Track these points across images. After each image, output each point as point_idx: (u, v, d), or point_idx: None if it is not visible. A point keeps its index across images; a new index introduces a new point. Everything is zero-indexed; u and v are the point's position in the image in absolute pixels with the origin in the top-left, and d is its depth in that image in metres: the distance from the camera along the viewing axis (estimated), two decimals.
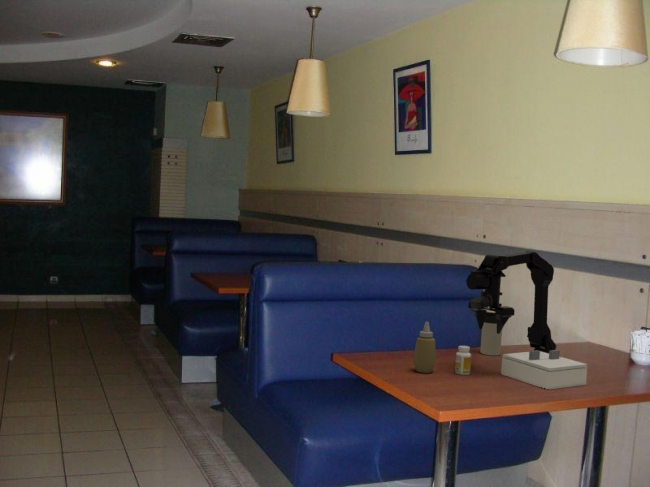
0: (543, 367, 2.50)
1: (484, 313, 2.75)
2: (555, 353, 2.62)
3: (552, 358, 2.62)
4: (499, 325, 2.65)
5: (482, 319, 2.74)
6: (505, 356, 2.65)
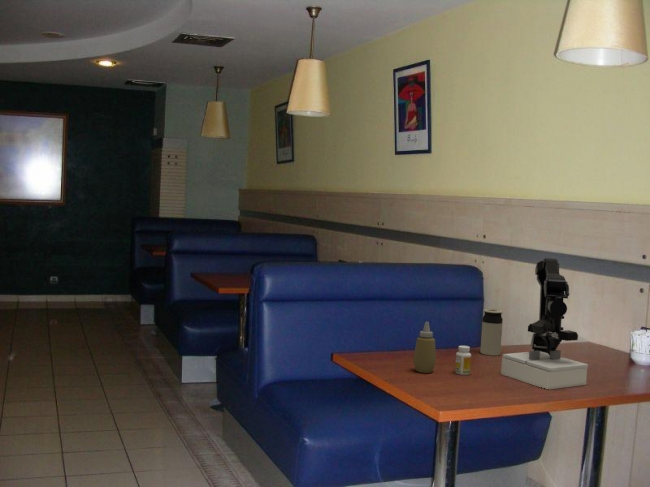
0: (544, 367, 2.50)
1: None
2: (555, 353, 2.62)
3: (553, 358, 2.61)
4: (552, 347, 2.63)
5: None
6: (505, 356, 2.65)
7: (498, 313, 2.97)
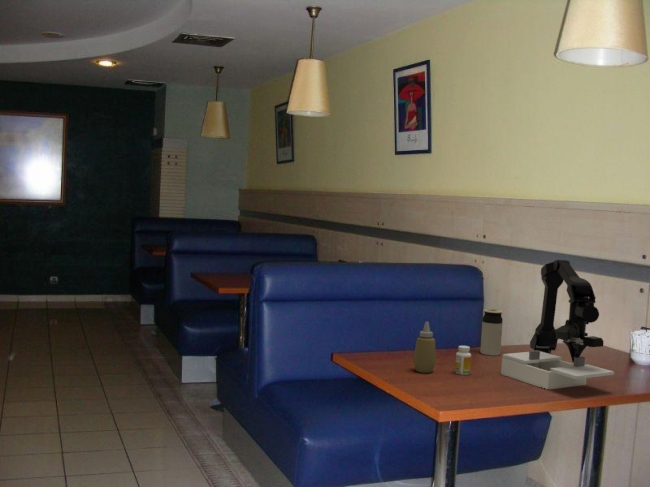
0: (569, 375, 2.40)
1: None
2: (580, 360, 2.53)
3: (577, 365, 2.52)
4: (576, 354, 2.53)
5: None
6: (505, 356, 2.65)
7: (498, 313, 2.97)
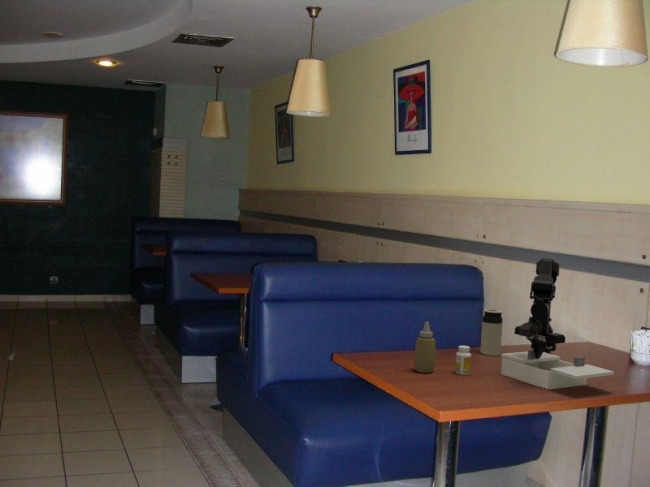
0: (569, 375, 2.40)
1: None
2: (580, 360, 2.53)
3: (577, 365, 2.52)
4: (539, 350, 2.58)
5: None
6: (504, 356, 2.66)
7: (498, 313, 2.97)
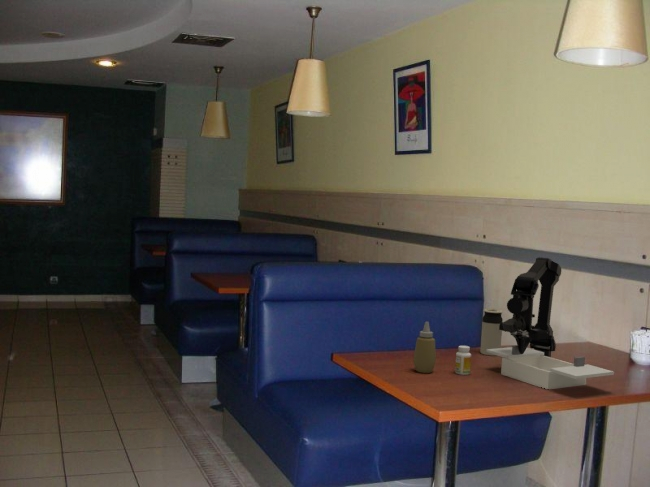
0: (569, 375, 2.40)
1: None
2: (580, 360, 2.53)
3: (577, 365, 2.52)
4: (523, 345, 2.64)
5: None
6: (489, 351, 2.73)
7: (498, 313, 2.97)
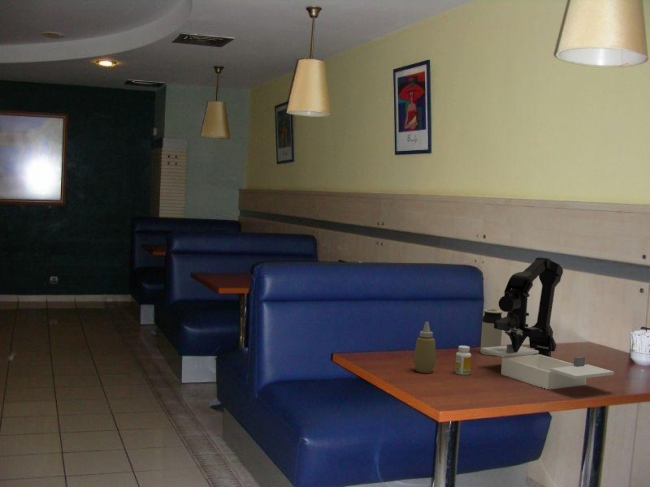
0: (569, 375, 2.40)
1: None
2: (580, 360, 2.53)
3: (577, 365, 2.52)
4: (517, 344, 2.67)
5: None
6: (484, 350, 2.75)
7: (498, 313, 2.97)
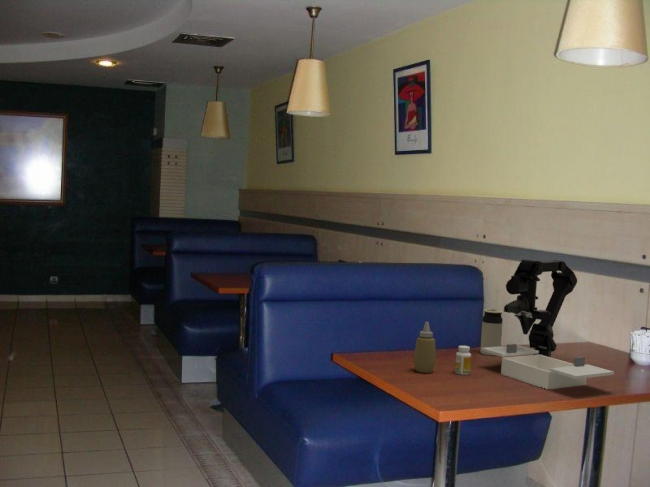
0: (569, 375, 2.40)
1: None
2: (580, 360, 2.53)
3: (577, 365, 2.52)
4: (526, 326, 2.75)
5: None
6: (484, 350, 2.75)
7: (498, 313, 2.97)
